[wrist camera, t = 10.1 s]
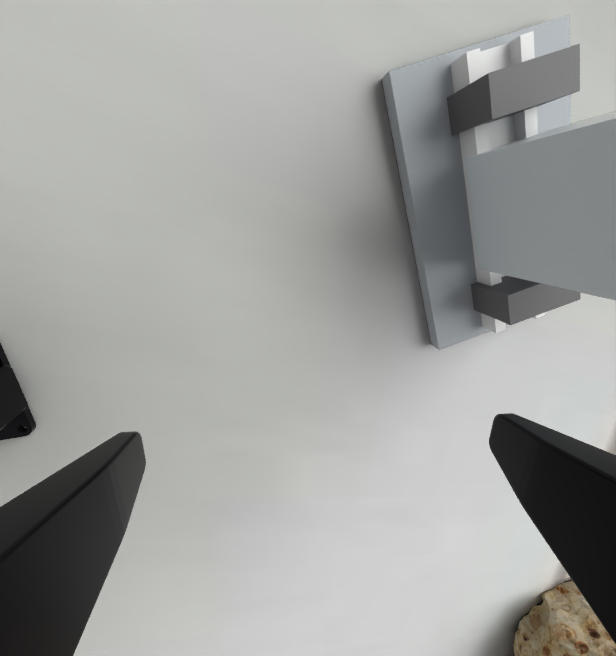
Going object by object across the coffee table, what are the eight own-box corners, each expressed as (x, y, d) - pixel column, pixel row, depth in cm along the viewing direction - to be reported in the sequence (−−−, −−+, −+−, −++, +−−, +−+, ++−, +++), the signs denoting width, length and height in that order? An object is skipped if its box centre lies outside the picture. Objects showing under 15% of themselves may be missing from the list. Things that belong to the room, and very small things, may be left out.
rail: (559, 296, 24) (622, 312, 20) (431, 344, 23) (469, 370, 19) (552, 25, 18) (638, -29, 14) (381, 79, 17) (420, 38, 13)
